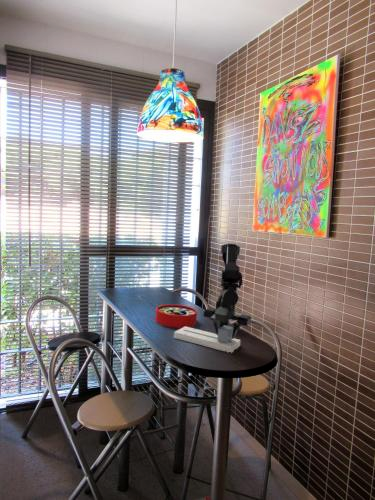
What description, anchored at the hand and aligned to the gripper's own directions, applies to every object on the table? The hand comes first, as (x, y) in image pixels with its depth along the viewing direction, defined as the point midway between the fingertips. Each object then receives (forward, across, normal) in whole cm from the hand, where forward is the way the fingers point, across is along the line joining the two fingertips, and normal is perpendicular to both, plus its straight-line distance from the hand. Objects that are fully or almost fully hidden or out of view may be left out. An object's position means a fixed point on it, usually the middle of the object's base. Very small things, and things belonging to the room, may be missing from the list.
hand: (225, 336), depth 147 cm
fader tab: (+1, 0, 0) cm, 1 cm away
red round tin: (+5, -32, +16) cm, 36 cm away
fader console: (+4, -8, 0) cm, 9 cm away
